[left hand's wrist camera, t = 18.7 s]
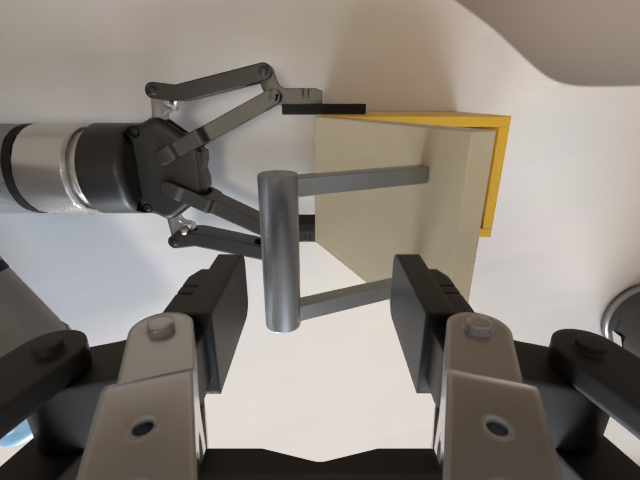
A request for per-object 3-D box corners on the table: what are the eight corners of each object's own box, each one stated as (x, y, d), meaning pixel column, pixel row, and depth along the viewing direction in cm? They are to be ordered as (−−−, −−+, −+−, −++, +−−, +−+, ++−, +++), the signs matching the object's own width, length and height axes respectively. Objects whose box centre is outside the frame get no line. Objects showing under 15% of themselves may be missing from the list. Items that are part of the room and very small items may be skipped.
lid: (496, 130, 14) (277, 139, 10) (462, 337, 17) (287, 394, 14) (330, 116, 25) (204, 118, 22) (329, 239, 29) (218, 256, 25)
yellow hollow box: (457, 111, 36) (511, 116, 26) (445, 201, 39) (490, 237, 29) (321, 111, 36) (322, 115, 26) (320, 201, 39) (321, 237, 29)
